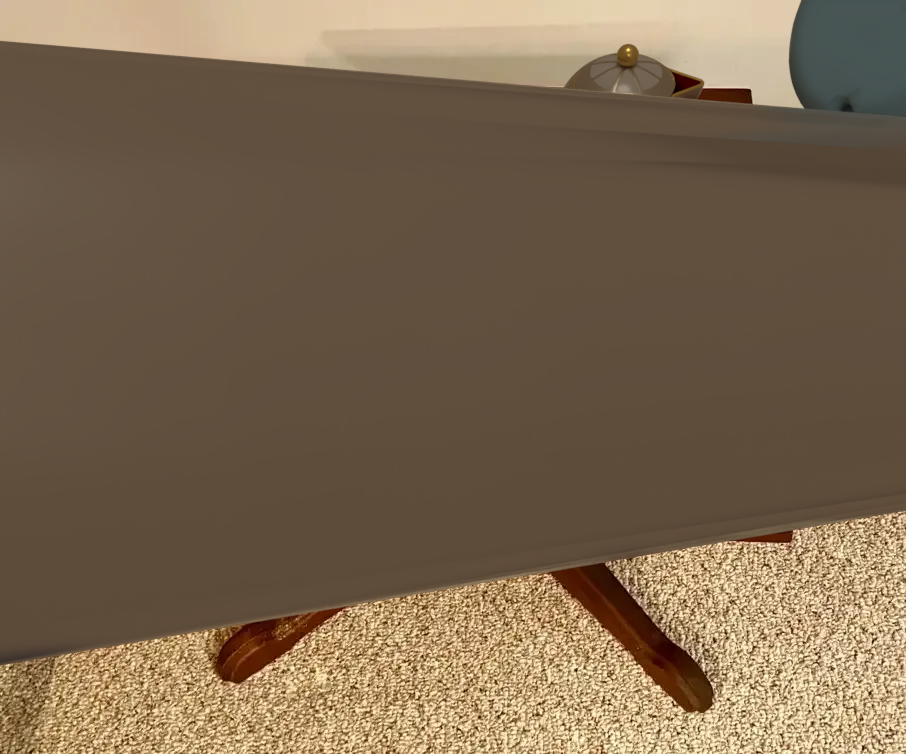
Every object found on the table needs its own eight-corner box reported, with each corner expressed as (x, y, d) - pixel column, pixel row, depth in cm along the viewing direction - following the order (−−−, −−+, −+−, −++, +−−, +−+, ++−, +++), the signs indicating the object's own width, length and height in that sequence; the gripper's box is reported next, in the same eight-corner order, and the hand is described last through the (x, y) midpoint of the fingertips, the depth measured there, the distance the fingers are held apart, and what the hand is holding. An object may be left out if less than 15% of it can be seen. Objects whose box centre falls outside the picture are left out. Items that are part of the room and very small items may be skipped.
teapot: (680, 147, 97) (704, 6, 84) (689, 230, 89) (718, 87, 76) (517, 146, 99) (517, 8, 86) (512, 227, 90) (511, 87, 78)
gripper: (847, 338, 41) (550, 385, 61) (981, 160, 48) (677, 254, 68) (769, 205, 39) (489, 298, 59) (921, 41, 46) (626, 174, 67)
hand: (590, 274), depth 64 cm, fingers closed on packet, 4 cm apart
